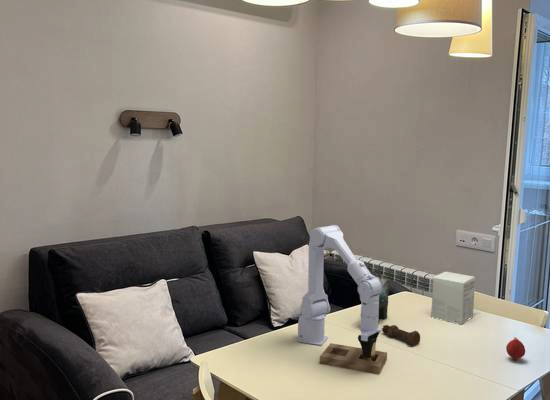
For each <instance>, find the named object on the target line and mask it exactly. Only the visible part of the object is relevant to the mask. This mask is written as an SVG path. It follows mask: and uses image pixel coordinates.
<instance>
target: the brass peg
mask: <svg viewBox="0 0 550 400" xmlns="http://www.w3.org/2000/svg"><path fill="white" fill-rule="evenodd" d="M376 343H377V342H376ZM376 343H375V342H374V344H373V347H372V352H371V356H370V358H366V357H364V356H363V352H362V359H363V360H369V361H375V351H376V349H377V347H376Z"/></svg>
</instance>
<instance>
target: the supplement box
mask: <svg viewBox="0 0 550 400" xmlns="http://www.w3.org/2000/svg"><path fill="white" fill-rule="evenodd" d="M475 283H476V276H473V275H468V274H461V273H455V272H451V271H444V272H441V273H439V274H437V275H435V276H433V277H432V293H431V294H432V296H431V297H432V298H431V314H430V315H431V316H430V317H431V318H432V317H434V318H433V319H436V318H438V319H437V320H440V319H442V320H441V321H444V320H446V321H445V322H448V321H451V322H450V323H452V322H455V323H454V324H456V323H459V324H458V325H461V324H462V323H463V324H465V323H466V322H468V321H469V320H470V319H469V318H471V317H472V316H473V317H474V306H475V305H474V303H475V287H476V286H475V285H476V284H475ZM473 317H472V318H473ZM472 318H471V319H472ZM468 319H469V320H468ZM467 320H468V321H467ZM465 321H466V322H465ZM464 322H465V323H464ZM463 324H462V325H463Z"/></svg>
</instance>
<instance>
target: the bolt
mask: <svg viewBox="0 0 550 400" xmlns="http://www.w3.org/2000/svg"><path fill="white" fill-rule="evenodd" d="M381 332H382V333H384V334H385V335H388V337H389V338H391V339H397V338H398V339H400V340H402V341H406V342H408V344H409V346H410V347H417V346H418V345H419V344H420V342H421V334H420V333H419V331H418V330H414V331H411V332H409V331H406V330H403V329H399V327H398V326H397V325H396V324H393V325H389V324H385V325H383V326H382V331H381Z"/></svg>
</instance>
